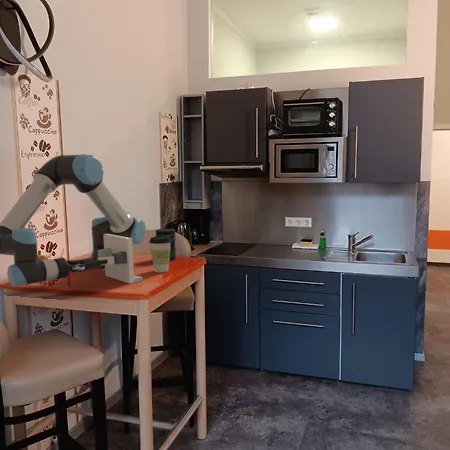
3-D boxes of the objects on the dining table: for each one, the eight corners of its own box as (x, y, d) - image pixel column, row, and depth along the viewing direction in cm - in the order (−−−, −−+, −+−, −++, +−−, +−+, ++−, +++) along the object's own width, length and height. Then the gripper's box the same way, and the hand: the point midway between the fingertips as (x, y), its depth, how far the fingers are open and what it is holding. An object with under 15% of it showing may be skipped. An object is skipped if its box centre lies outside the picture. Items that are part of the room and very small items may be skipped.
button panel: (105, 275, 201) (103, 234, 199) (117, 273, 205) (116, 232, 203) (129, 283, 187) (127, 238, 184) (142, 280, 191) (140, 237, 188)
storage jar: (152, 260, 233) (151, 230, 231) (162, 257, 242) (161, 228, 240) (170, 261, 229) (169, 231, 227) (179, 258, 238) (179, 228, 236)
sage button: (98, 259, 196) (97, 249, 196) (111, 257, 200) (110, 248, 200) (102, 260, 193) (102, 251, 193) (115, 258, 197) (115, 249, 197)
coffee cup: (168, 273, 203) (167, 239, 201) (146, 273, 205) (145, 239, 203) (175, 268, 213) (174, 236, 211) (154, 268, 215) (153, 235, 213)
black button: (112, 263, 187) (111, 253, 187) (125, 261, 191) (125, 251, 191) (117, 264, 184) (116, 254, 184) (130, 262, 188) (130, 252, 188)
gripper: (48, 276, 175) (105, 266, 190) (62, 282, 165) (122, 271, 181) (46, 256, 174) (105, 248, 189) (61, 261, 164) (121, 252, 180)
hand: (113, 259), depth 185 cm, fingers closed
